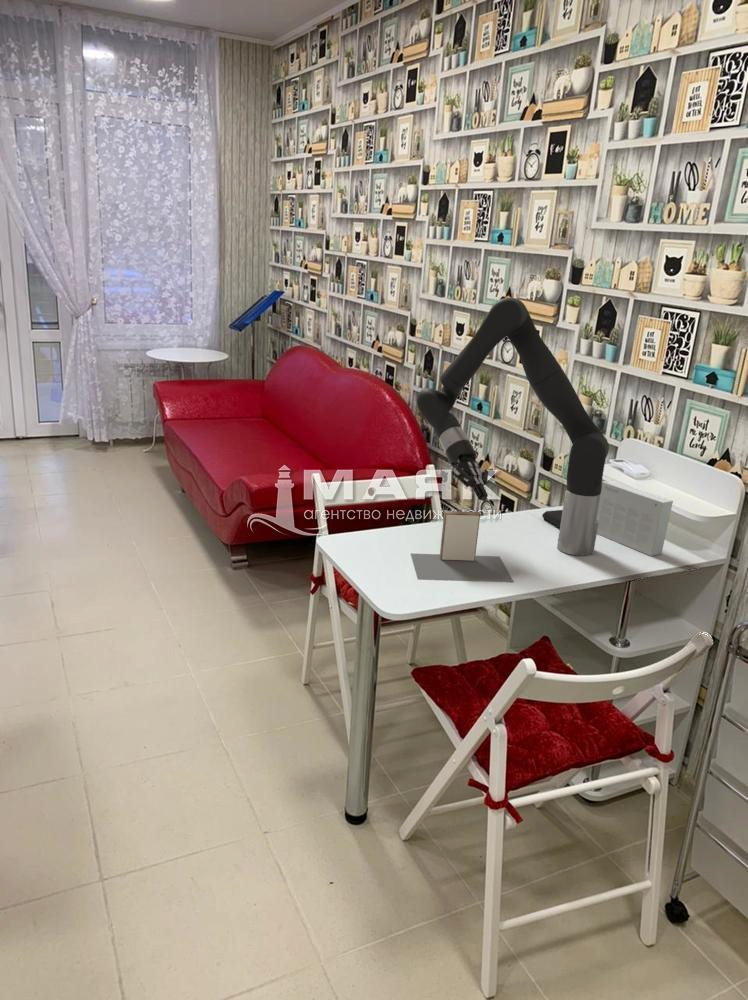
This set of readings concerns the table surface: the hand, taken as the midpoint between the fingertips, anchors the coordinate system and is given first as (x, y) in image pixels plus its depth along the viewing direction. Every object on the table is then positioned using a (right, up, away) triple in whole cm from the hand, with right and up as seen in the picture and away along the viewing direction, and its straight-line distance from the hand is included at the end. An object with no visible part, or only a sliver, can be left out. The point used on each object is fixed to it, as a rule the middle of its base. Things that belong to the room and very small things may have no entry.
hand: (484, 498), depth 198 cm
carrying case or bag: (+30, -9, +32) cm, 44 cm away
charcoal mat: (-7, -18, -6) cm, 20 cm away
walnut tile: (-7, -16, -1) cm, 18 cm away
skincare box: (+44, -13, +21) cm, 51 cm away
